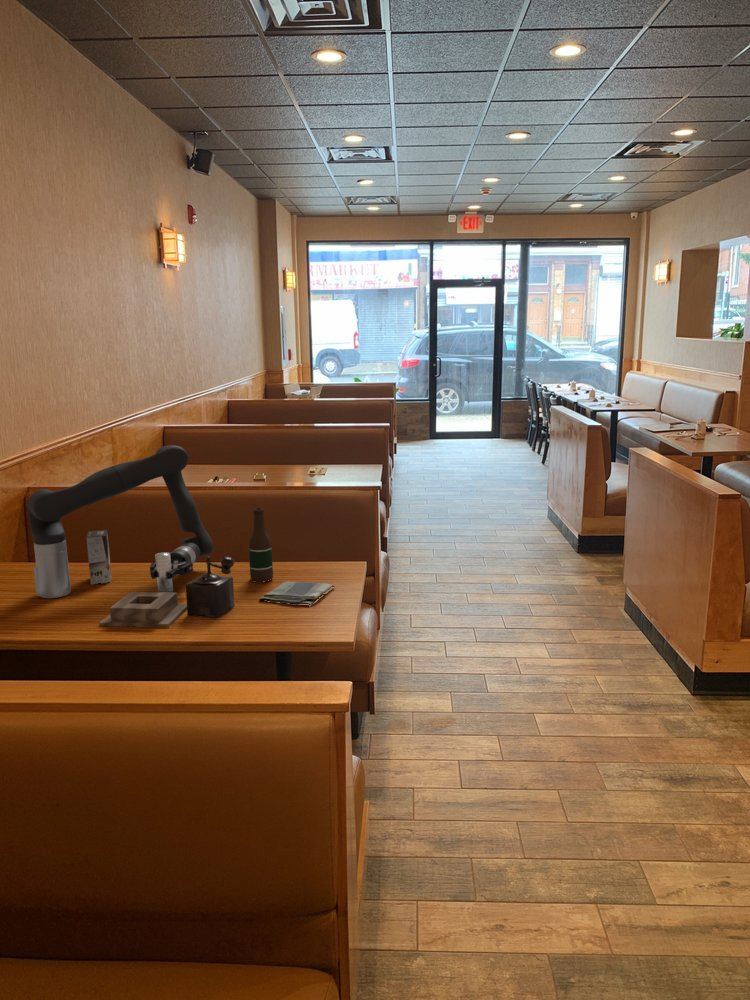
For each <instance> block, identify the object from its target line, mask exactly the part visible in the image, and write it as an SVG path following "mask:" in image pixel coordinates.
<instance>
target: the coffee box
mask: <svg viewBox="0 0 750 1000" xmlns="http://www.w3.org/2000/svg"><path fill="white" fill-rule="evenodd" d="M85 538H86V547H87V549H86V550H87V558H88V567H89V569H88V570H89V579H90V580H89V581H90V585H99V584H98V583H101V584H109V583H108V582H110V583H111V580H112V566H111V558H110V557H111V555H110V545H109V535H108V529H101V530H93V531H90V530H89V531H88V532H87V534H86V537H85Z"/></svg>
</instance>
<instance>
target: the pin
mask: <svg viewBox="0 0 750 1000" xmlns="http://www.w3.org/2000/svg"><path fill="white" fill-rule="evenodd" d="M170 553H171V552H169V551H167V552H166V551H165V552H164V551H163V552H158V553H155V554H154V557H155V563H156V571H157V577H156V581H157V584H156V585H157V592H174V585H173V578H171V579H168V576H167V573H168V572H169V571H170V570H171V558H170Z"/></svg>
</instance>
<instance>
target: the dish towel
mask: <svg viewBox="0 0 750 1000" xmlns="http://www.w3.org/2000/svg"><path fill="white" fill-rule="evenodd" d="M331 587H334V588H335V585H334V584H331V583H324V582H309V581H308V582H307V581H293V580H292V581H288V580H287V581H286V580H285V581H284V580H283V582H282V583H280V585H278V586H276V587H274V588H273V589H271V590H270V591H269V592H267V593H265V594H263V596H262V597H260V598H258V601H259V602H261V601H260V600H267V601H270V602H280V603H282V604H284V603H290V604H309V605H312V604H313V603H314V602H315V601H316V600H317V599H319V597H321V596H322V595H324V594H323V593H325V592H326V591H327V590H329V589H330V588H331ZM270 602H269V603H270ZM312 606H313V605H312Z"/></svg>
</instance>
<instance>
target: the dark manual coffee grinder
mask: <svg viewBox="0 0 750 1000" xmlns="http://www.w3.org/2000/svg"><path fill="white" fill-rule="evenodd" d="M205 559H206V561H205V564H206V568H207V570H206V571H207V573H204V574H202V575H200V576H197V577H195V578H193V579H192V580H191V581H188V582H187V583H185V596H186V597H185V598H186V604H187V610H186V611H187V615H186V616H192V617H198V618H199V617H200V618H220V617H223V616H224V615H226V614H227V613H229V612H230V611H232V609H234V608H235V593H234V589H235V588H234V577H232V576H224V575H229V574H231V573H232V570H231V568H232V567H233V566H234V565H235V560H234V558H232V557H231V556H224V557H223V558H221V559H220V564H218V563H217V564H216V563H214V562H212V561H211V559H212V558H211V557H210V556H209V555H206V557H205ZM211 566H212V567H213V568H217V569H221V571H220V572H221V573H222V574H224V575H223V576H222V575H219V574H216V573H213V572H212V571H211V570H212V569H211ZM233 607H234V608H233ZM228 611H229V612H228Z"/></svg>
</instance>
